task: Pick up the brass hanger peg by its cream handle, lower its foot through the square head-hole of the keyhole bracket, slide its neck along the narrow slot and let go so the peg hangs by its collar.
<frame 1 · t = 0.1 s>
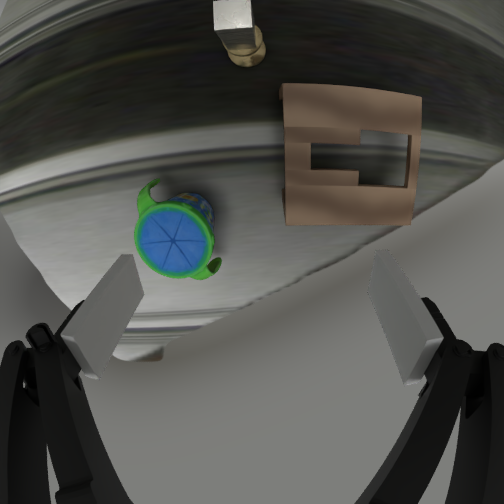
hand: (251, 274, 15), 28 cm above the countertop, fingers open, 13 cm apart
keyhole bracket: (336, 145, 37), on the countertop
hanger peg: (247, 51, 31), on the countertop
snack cup: (191, 213, 44), on the countertop
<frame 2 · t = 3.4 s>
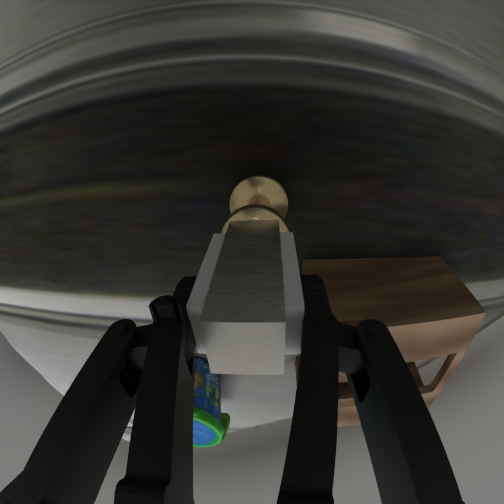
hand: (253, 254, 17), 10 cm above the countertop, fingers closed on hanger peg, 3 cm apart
keyhole bracket: (365, 317, 31), on the countertop
hanger peg: (259, 201, 25), on the countertop, touching gripper
snack cup: (194, 369, 38), on the countertop
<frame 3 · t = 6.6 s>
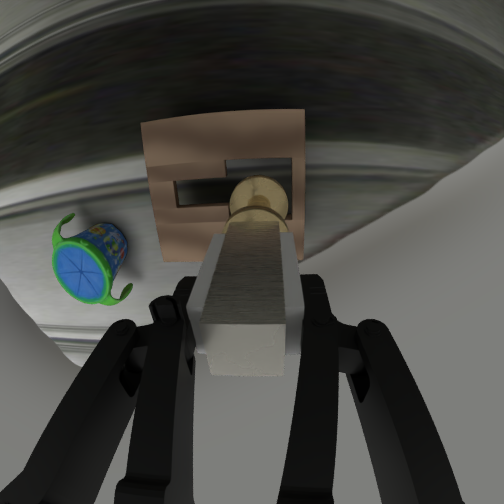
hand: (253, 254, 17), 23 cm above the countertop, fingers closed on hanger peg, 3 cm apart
keyhole bracket: (235, 170, 37), on the countertop
hanger peg: (259, 202, 25), point 13 cm above the countertop, touching gripper
snack cup: (109, 241, 43), on the countertop
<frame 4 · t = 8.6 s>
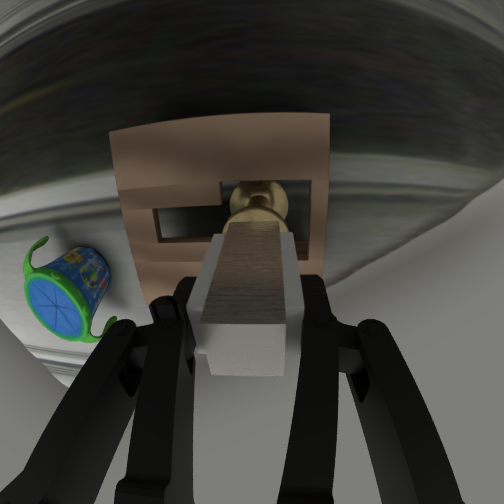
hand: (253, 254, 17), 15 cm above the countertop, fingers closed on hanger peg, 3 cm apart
keyhole bracket: (234, 187, 30), on the countertop
hanger peg: (259, 202, 25), point 5 cm above the countertop, touching gripper
snack cup: (90, 266, 37), on the countertop
when the fingers open (14 cm above the countertop, at t = 10.3 s): hanger peg drops 1 cm, resting on keyhole bracket.
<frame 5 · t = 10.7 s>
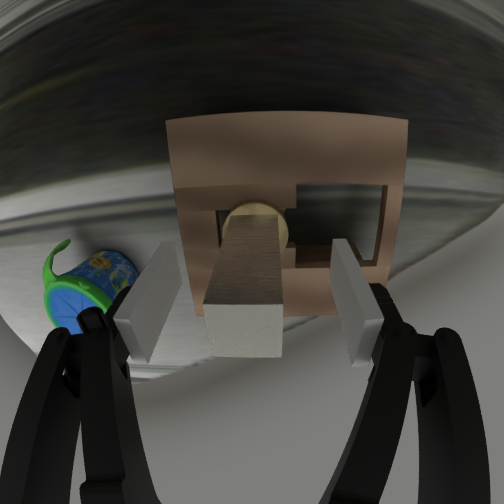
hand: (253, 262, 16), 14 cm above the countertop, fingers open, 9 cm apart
keyhole bracket: (284, 188, 28), on the countertop
hanger peg: (259, 198, 26), point 3 cm above the countertop, touching keyhole bracket
snack cup: (116, 271, 35), on the countertop
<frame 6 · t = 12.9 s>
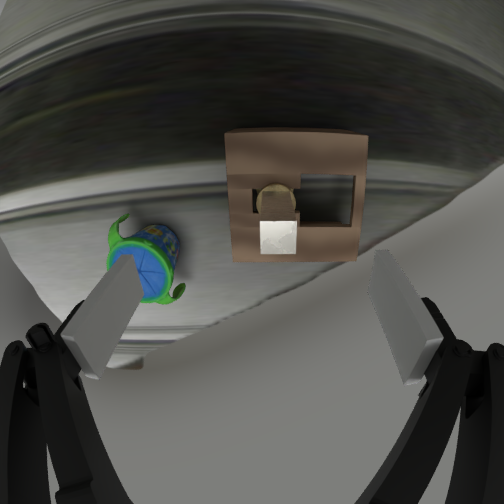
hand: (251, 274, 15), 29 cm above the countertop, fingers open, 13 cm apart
keyhole bracket: (291, 180, 41), on the countertop
hanger peg: (274, 186, 39), point 3 cm above the countertop, touching keyhole bracket
snack cup: (160, 242, 47), on the countertop
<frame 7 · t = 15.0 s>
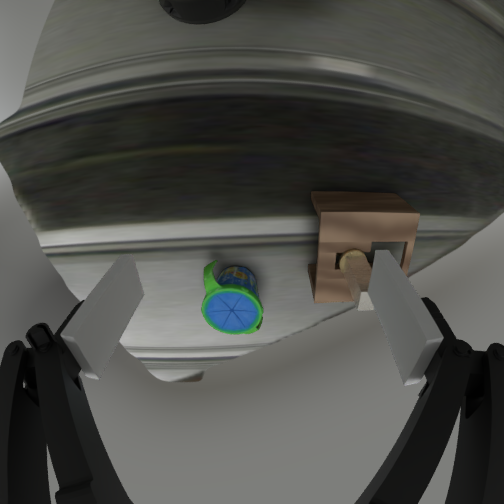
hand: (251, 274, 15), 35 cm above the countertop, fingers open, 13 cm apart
keyhole bracket: (351, 233, 51), on the countertop
hanger peg: (342, 240, 48), point 3 cm above the countertop, touching keyhole bracket
snack cup: (237, 279, 57), on the countertop
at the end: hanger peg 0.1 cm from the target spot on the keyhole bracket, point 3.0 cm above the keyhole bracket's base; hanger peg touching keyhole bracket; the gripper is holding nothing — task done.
